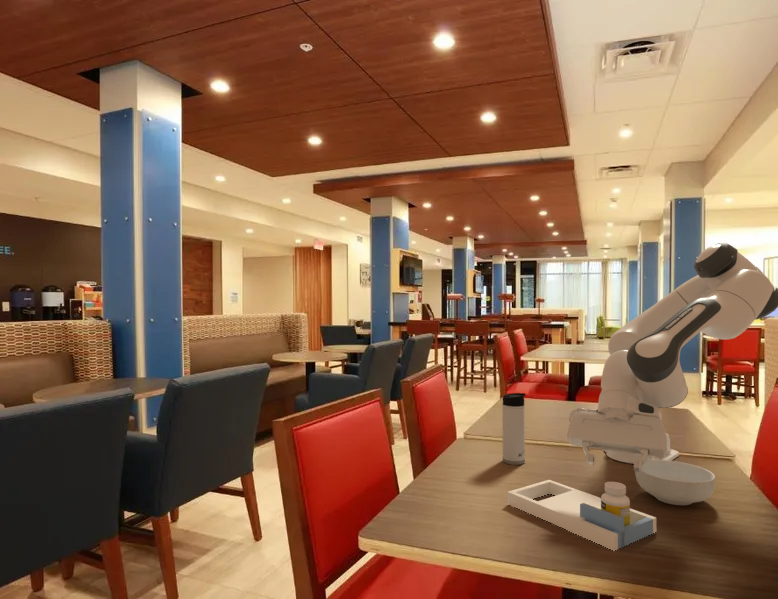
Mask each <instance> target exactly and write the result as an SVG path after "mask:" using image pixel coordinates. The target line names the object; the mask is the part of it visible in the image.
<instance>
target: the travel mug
mask: <svg viewBox="0 0 778 599" xmlns="http://www.w3.org/2000/svg"><path fill="white" fill-rule="evenodd" d="M525 397H527V396H526V393H525V392H522V393H521V392H520V393H519V392H517V393H514V392H512V393H508V394H507V393H506V394H504V395H503V396H502V462H503V463H505V464H507V465H511V464H513V465H512V466H516V465H517V466H520V465H523V464H525V463H526V462H525V461H526V460H525V458H526V457H525V453H526V450H525V446H526V444H525V442H526V441H525V440H526V437H525V436H526V435H525V433H526V431H525V429H526V426H525V424H526V422H525V421H526V420H525V415H526V414H525V413H526V412H525V410H526V409H525V407H526V406H525Z"/></svg>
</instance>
